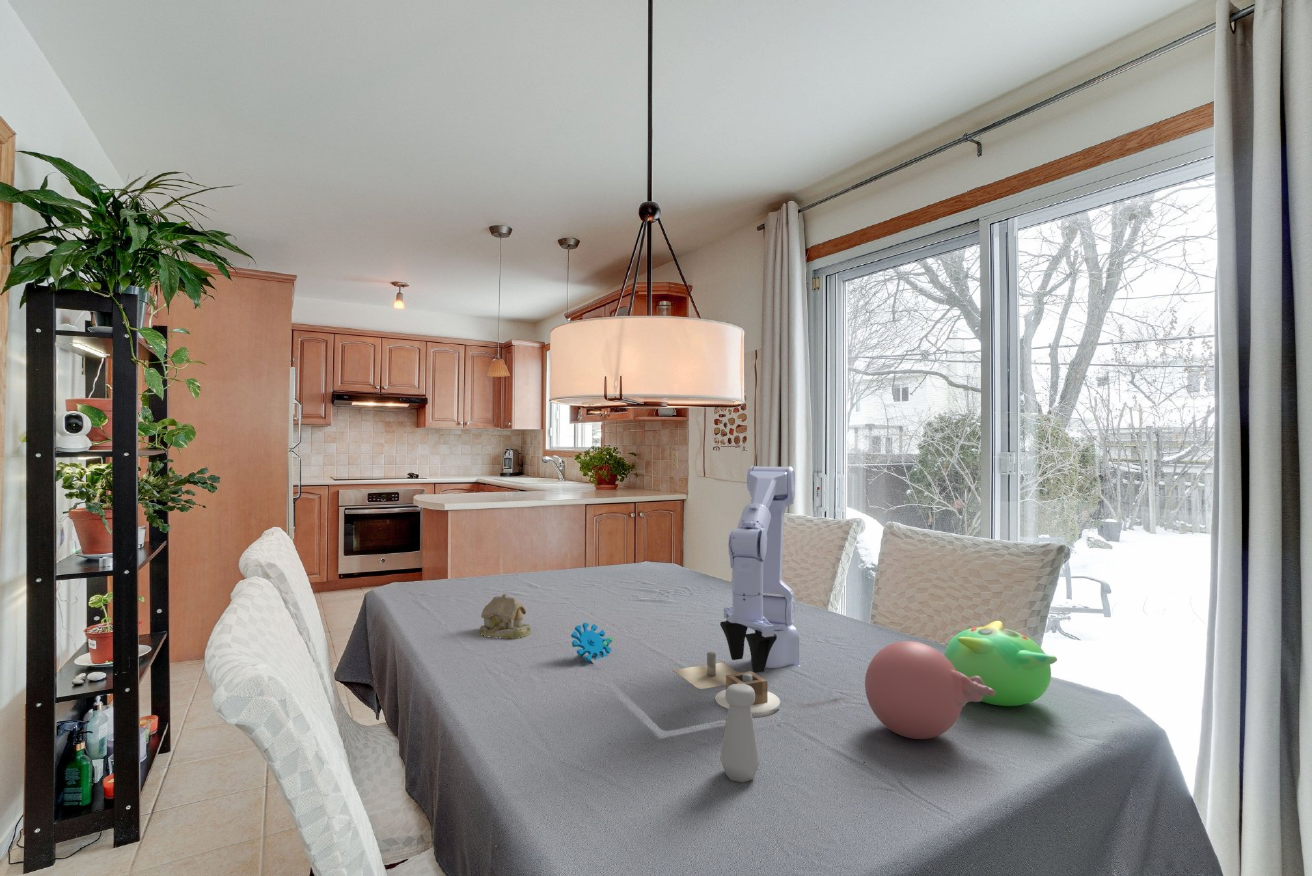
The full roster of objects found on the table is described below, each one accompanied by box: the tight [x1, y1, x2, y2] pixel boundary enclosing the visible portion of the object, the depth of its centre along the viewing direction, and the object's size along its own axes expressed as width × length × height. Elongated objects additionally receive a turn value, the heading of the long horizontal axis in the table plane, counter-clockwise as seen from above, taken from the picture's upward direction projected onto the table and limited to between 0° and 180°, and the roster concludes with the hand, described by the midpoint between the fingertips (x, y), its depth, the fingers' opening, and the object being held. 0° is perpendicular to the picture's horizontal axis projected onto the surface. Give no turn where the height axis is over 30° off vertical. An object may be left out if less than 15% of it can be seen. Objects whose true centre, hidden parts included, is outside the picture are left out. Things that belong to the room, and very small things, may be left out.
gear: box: [570, 622, 614, 663], centre depth 149 cm, size 11×6×10 cm
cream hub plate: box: [714, 673, 781, 719], centre depth 122 cm, size 12×12×6 cm
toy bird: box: [944, 620, 1058, 707], centre depth 123 cm, size 18×17×15 cm
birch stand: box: [672, 651, 739, 690], centre depth 135 cm, size 12×12×6 cm
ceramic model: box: [478, 593, 532, 639], centre depth 169 cm, size 14×11×10 cm
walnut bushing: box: [725, 670, 769, 705], centre depth 122 cm, size 6×6×4 cm
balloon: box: [864, 640, 995, 740], centre depth 108 cm, size 15×20×15 cm
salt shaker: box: [719, 684, 761, 783], centre depth 96 cm, size 6×6×13 cm
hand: (747, 665), depth 122 cm, fingers open, 7 cm apart
